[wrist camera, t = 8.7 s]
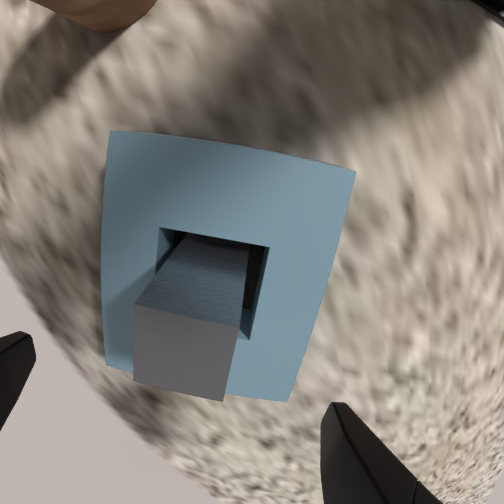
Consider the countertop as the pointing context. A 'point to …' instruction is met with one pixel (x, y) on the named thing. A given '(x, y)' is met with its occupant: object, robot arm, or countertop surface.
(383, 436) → the countertop surface
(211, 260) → the square peg
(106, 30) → the round peg
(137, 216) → the socket board
